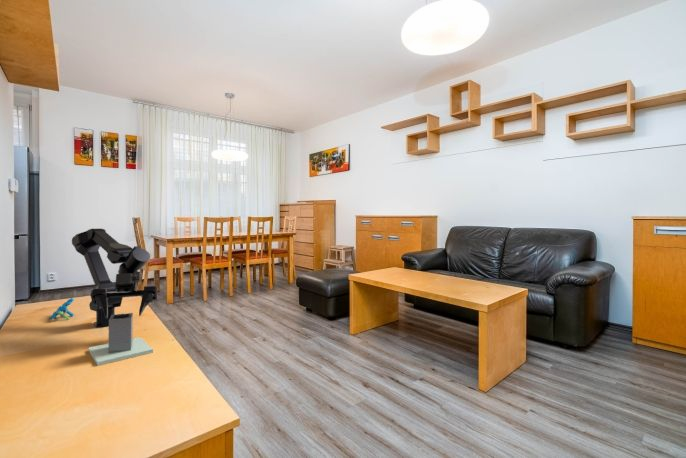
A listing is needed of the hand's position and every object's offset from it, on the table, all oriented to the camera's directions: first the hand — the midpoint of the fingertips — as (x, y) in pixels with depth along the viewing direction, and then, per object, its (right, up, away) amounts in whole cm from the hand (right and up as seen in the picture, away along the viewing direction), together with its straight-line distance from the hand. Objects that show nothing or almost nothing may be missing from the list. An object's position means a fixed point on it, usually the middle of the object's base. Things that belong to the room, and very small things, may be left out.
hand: (123, 316), depth 108 cm
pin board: (+3, -9, -6) cm, 11 cm away
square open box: (+3, -8, -6) cm, 11 cm away
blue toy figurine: (-41, -7, +25) cm, 48 cm away
